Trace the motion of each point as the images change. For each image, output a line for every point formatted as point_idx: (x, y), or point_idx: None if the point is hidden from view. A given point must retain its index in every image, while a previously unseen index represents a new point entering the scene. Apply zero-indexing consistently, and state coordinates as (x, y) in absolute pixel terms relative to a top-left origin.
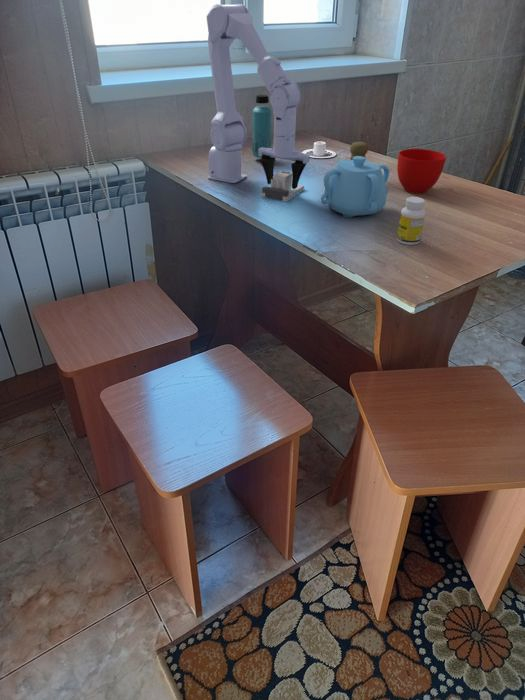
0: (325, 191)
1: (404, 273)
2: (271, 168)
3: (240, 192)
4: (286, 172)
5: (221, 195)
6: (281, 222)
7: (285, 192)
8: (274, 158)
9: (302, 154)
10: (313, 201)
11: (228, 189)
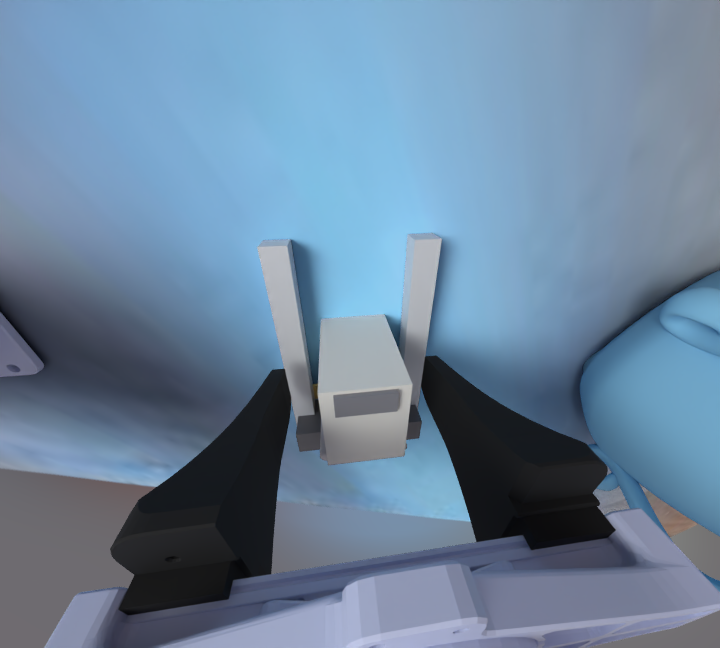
0: (612, 448)
1: (673, 513)
2: (267, 459)
3: (193, 424)
4: (378, 410)
5: (170, 472)
6: (450, 498)
7: (414, 437)
8: (235, 507)
9: (639, 627)
10: (510, 356)
11: (119, 426)
